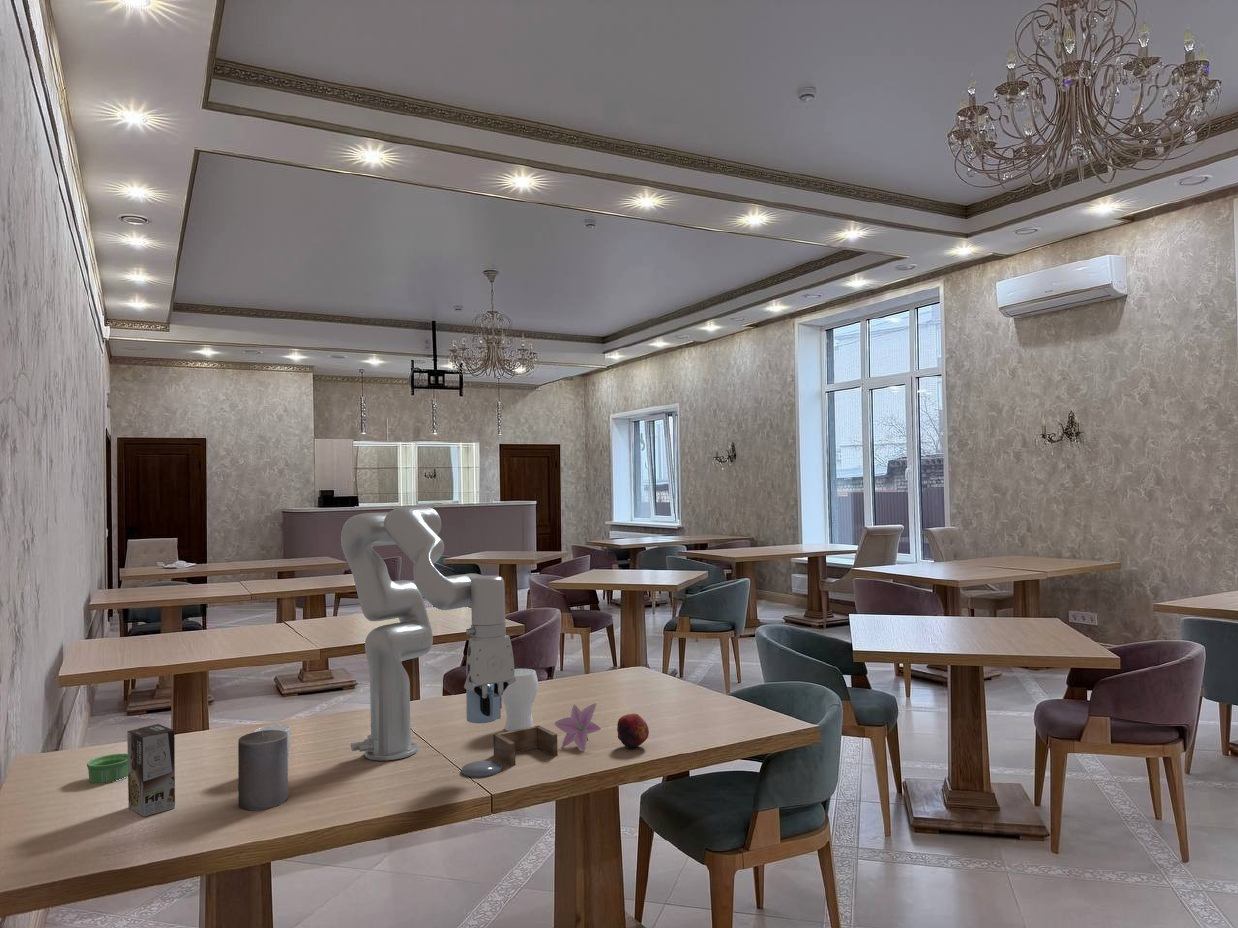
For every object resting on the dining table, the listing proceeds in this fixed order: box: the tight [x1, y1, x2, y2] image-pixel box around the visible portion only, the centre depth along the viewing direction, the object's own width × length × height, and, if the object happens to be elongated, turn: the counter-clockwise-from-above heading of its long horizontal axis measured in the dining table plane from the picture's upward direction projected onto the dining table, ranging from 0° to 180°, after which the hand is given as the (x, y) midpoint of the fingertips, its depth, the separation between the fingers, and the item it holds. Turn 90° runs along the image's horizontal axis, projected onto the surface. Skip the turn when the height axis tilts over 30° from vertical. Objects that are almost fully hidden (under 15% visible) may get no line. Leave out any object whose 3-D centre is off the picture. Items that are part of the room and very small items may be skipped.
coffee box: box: [126, 723, 176, 818], centre depth 172 cm, size 9×6×16 cm
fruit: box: [616, 713, 650, 749], centre depth 204 cm, size 8×8×8 cm
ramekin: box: [86, 753, 128, 784], centre depth 192 cm, size 9×9×4 cm
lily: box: [553, 703, 602, 752], centre depth 207 cm, size 12×12×10 cm
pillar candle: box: [237, 730, 289, 811], centre depth 174 cm, size 10×10×15 cm
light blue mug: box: [465, 683, 502, 724], centre depth 187 cm, size 7×12×8 cm, turn 33°
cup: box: [501, 668, 539, 732], centre depth 223 cm, size 11×11×15 cm
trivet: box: [461, 760, 503, 778], centre depth 189 cm, size 9×9×1 cm
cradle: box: [492, 725, 559, 766], centre depth 200 cm, size 12×10×5 cm
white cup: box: [253, 724, 291, 760], centre depth 192 cm, size 8×8×10 cm
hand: (491, 713), depth 185 cm, fingers closed on light blue mug
